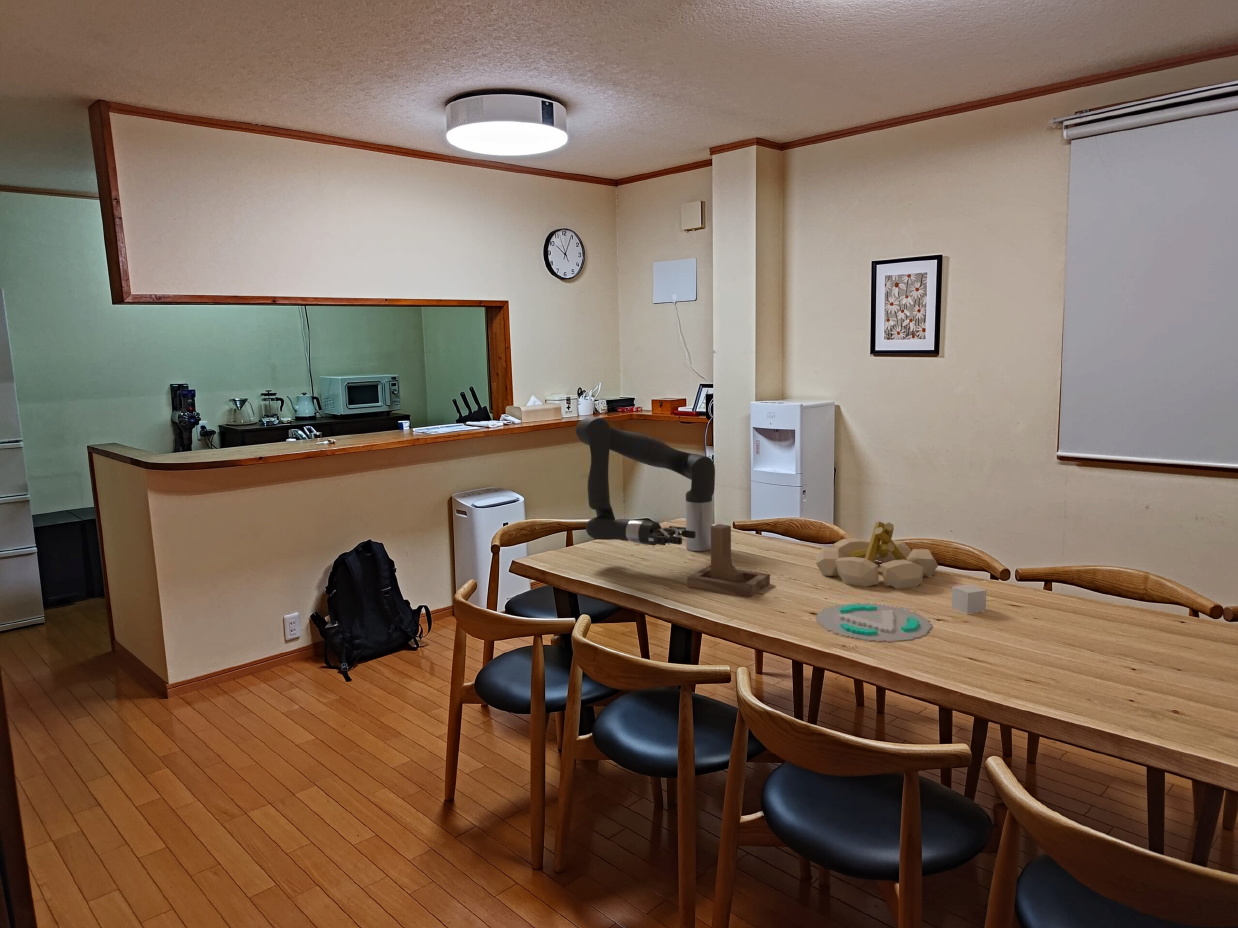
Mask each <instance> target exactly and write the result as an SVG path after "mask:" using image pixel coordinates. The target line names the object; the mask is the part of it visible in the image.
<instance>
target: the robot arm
mask: <svg viewBox="0 0 1238 928" xmlns="http://www.w3.org/2000/svg"><path fill="white" fill-rule="evenodd" d="M575 434H576V436H577V438H578V440H579V441H580V442H581V443H583V444H584V445H586V446H588V447H589V450H590V466H589V473H588V476H587V477H588V479H587V499H588V507H589V508H590V509H591V510H595V512H596V516H595V517H592V518H591V519H589V520H588V521H587V523H586V524H585V531H586V534H587V535H588V536H589V537H590V538H592V539H593V540H598V541H599V540H601V541H611V540H612V541H613V540H614V541H616V540H618V541H622V542H623V541H624V542H629V543H630V542H632V543H634V544H641V545H647V546H657V545H659V546H666V545H683V538H685V546H686V547H685V548H686V550H688V551H692V552H706V551H711V526H714V525H713V524H714V522H713V496H714V493H715V484H716V483H715V481H716V480H715V479H716V465H715V463H714V460H712V458H711V457H709V456H706V455H703V454H699V453H698V454H697V453H692V452H686V451H683V450H678V449H676V448H674V447H671V446H670V445H668V444H666V443H665V442H664V441H661V440H659V439H658V438H655V437H651V436H649V435H646V434H642V433H638V432H633V431H628V430H621V429H617V428H614V427H611V425H610V424H609V422H608V421H607V420H606V419H605V418H602V417H594V416H588V417H585V418H583V419H581V420H580V421H579V422H578V423H577V425H576V427H575ZM610 451H613V452H615V453H617V454H619V455H621V456H623V457H626V458H628V459H631V460H632V461H635V462H637V463H641V464H644V465H647V466H650V467H655V468H660V469H667V470H670V471H673V472H674V473H677V474H679V475H681V476H683V477H685V478H686V479H688V480H691V485H690V489H689V490H688V491H687V492H686V493H685V526H684V527H682V526H673V525H669V526H668V527H667V526H666V527H663V528H662V526H661V524H660V522H657V521H653V520H652V521H651V520H643V519H628V518H618V519H617V518H616V517H615V514H614V510H613V508H612V507H613V506H612V505H611V502H610V501H611V497H610V486H609V485H610V483H609V465H610V464H609V463H610V462H609V460H610Z"/></svg>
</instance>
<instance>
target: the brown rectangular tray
mask: <svg viewBox="0 0 1238 928" xmlns="http://www.w3.org/2000/svg"><path fill="white" fill-rule="evenodd" d="M735 569H736V570H738V571H741V572H743V583H738V582H731V581H725V580H719V579H713V578H711V564H710V565H708V566H706V567H703V568H702V569H700V570H698V571H696V572H694V573H692V574H690V575H689V576H686V577H687V578H686V581H687V582H686V585H687V587H686V588H691V589H696V590H704V591H709V590H710V591H709V592H714V591H715V592H716V593H723V594H728V595H734V596H739V597H743V598H750V597H752V596H753V595H754V594H757V593H758V592H759V591H761V590H762V589H764V588H766V587H767V586H768V585H770V584H771V579H770V578H771V574H770V573H764V572H760V571H759V572H758V571H752V570H746V569H741V568H740V569H739V568H735Z"/></svg>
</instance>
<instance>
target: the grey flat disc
mask: <svg viewBox="0 0 1238 928" xmlns="http://www.w3.org/2000/svg"><path fill="white" fill-rule="evenodd" d="M815 622H816V623H817V624H818V625H819V626H821V627H822V628H823V629H824V630H826V631H827V632H831V633H833V634H834V635H839V634H840V635H841V637H845V636H846V637H845V638H850V639H854V638H855V639H854V640H859V641H861V639H863V640H862V641H864V640H866V641H867V640H868V641H867V642H876V643H881V642H880V641H883V642H886V641H887V642H886V643H892V642H891V641H897V642H904V641H903V640H907V641H914V639H921V637H922V638H923V637H927V635H928V634H929V633H930V631H931V630H932V628H931V627H933V628H934V626H933V623H931V622H930V620H929V619H928V618H927V617H924V616H923V615H921V614H920V613H917V612H916V611H911V610H909V609H908V608H906V609H905V608H903V607H898V606H894V605H892V606H890V605H886V604H881V603H879V604H878V603H870V602H868V603H867V602H865V603H861V602H855V603H844V604H836V605H832V606H828V607H824V608H823V609H822V610H821V611H819V612H818V613H817V614H816V615H815ZM929 630H930V631H929ZM925 634H927V635H925ZM840 635H839V636H840Z"/></svg>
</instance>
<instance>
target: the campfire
mask: <svg viewBox="0 0 1238 928" xmlns="http://www.w3.org/2000/svg"><path fill="white" fill-rule="evenodd" d="M894 526H895V525H894V523H891V522H887V523H884V522H882V521H877V522H875V525H874V527H873V531H872V534H871V537H870V539H869V540H867V539H864V538H863V539H862V538H855V537H852V538H850V537H849V538H843V539H840V540H839V541H837V542H835V543H833V546H832V547H827V546H826V547H822V548H821V550H820V551H819V553H818V555H817V556H816V558H815V564H816V567H817V568H818V569H819V571H820V573H821V575H822V576H825V577H839V578H840V579H841V580H842V582H843V583H844V584H845V585H850V586H856V587H862V588H868V587H870V586H873V585H878V584H879V583H880V579H879V566H880V569H881V570H880V571H881V574H882V578H883V581H884V583H886V584H887V585H889V586H890V587H892V588H894V589H896V590H900V589H901V590H904V589H913V588H914V589H915V588H917V587H918V586H919V585H920V584H921V583H922V582H923V580H924V579H923V578H924V577H923V576H927V577H926V578H930V577H929V576H931V577H932V575H933V574H934V573H935V571H936V569H937V568H938V566H939V564H938V563H937V561H936V560H935V558H934V556H933V555H932V553H931V551H930V550H929V549H926V548H925V549H923V548H921V549H919V548H914V549H912V550H911V549H910V547H909V546H908V544H906V543H905V542H904V541H903V540H895V539H892V538H893V534H894V530H895V527H894ZM875 560H878V561H881V562H878V564H879V565H878V564H876V563H875V562H876V561H875ZM880 563H883V564H880Z"/></svg>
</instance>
